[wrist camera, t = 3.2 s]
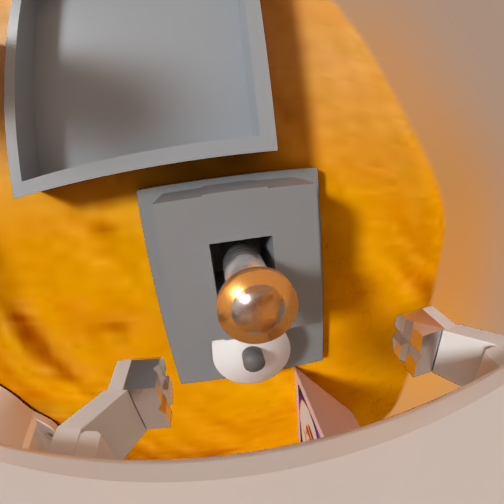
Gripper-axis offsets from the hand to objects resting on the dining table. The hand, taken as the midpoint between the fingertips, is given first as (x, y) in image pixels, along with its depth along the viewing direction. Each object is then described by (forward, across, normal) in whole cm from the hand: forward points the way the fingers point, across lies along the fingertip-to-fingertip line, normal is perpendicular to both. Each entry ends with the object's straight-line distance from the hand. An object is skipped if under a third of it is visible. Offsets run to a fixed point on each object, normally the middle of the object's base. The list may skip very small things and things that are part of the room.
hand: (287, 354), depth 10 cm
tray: (+15, -7, +15) cm, 22 cm away
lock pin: (+14, -1, 0) cm, 14 cm away
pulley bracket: (+15, -1, -4) cm, 15 cm away
